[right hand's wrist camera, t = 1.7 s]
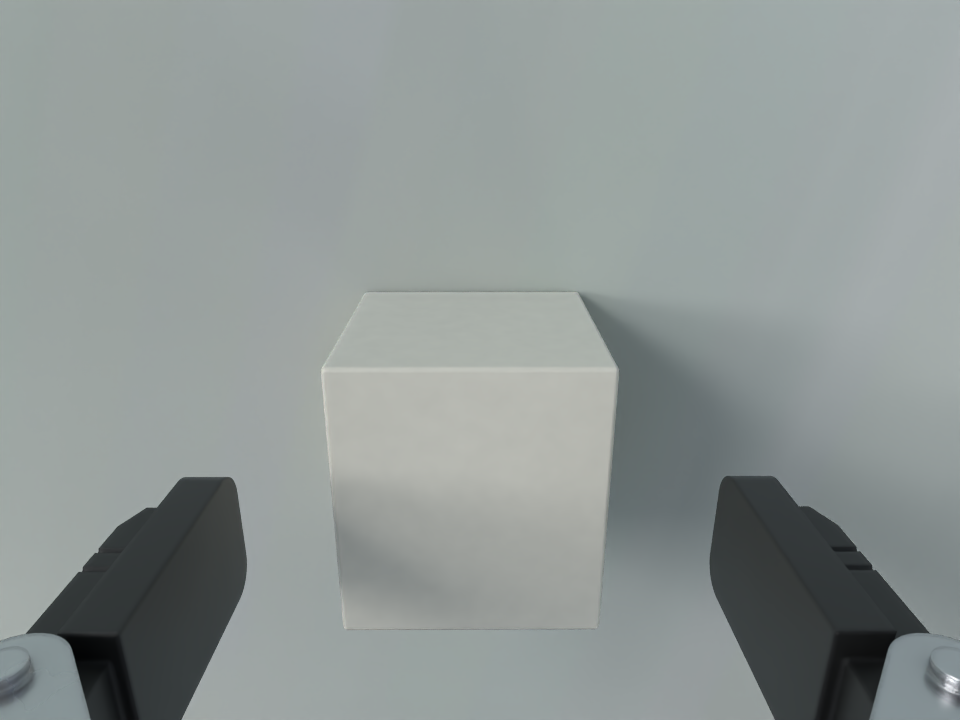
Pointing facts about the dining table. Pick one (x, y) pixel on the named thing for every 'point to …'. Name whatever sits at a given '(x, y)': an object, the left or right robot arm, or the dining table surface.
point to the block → (470, 460)
